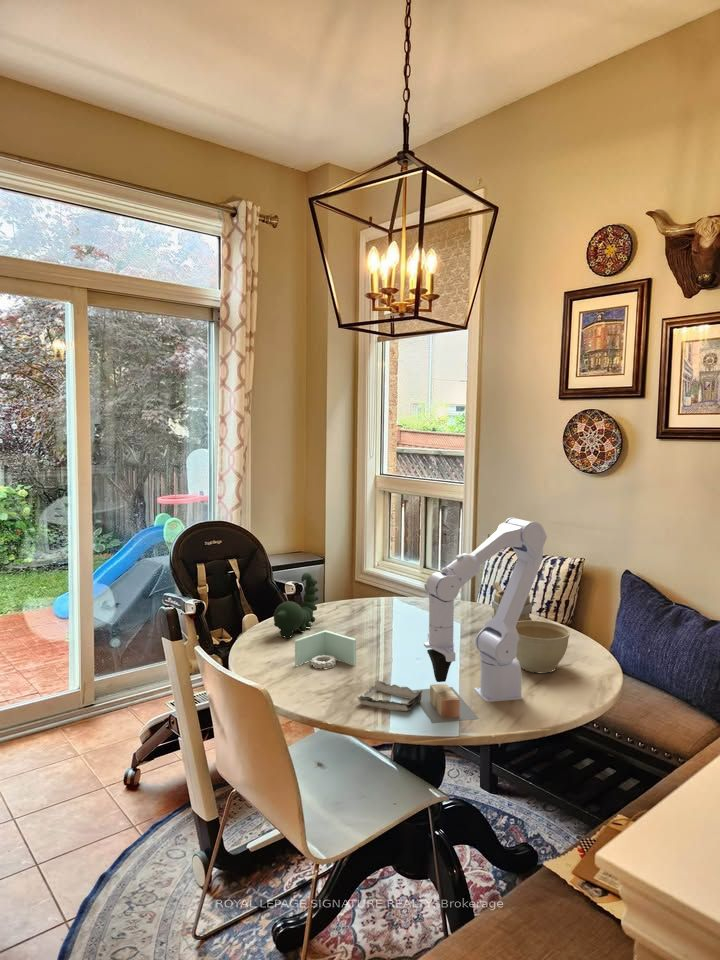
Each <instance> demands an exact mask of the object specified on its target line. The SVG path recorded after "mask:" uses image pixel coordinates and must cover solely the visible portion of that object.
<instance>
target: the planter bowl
mask: <svg viewBox="0 0 720 960" xmlns="http://www.w3.org/2000/svg"><path fill="white" fill-rule="evenodd" d="M516 630H517V632H518V635H519V641H518V644H517V654H516V657H515V659H517V660H518V662H519V664H520V667H521V669H522V670H524V669H525V671H527V670H528V671H527V672H530V671H532V672H531V673H534V672H550V671H552V670H554V669H555V670H556V667H557V665H558V664H560V662H561V661H562V660H563V658H564V656H565V654H566V651H567V649H568V644H569V639H570V635H571V634H570V631H569V630H568V629H567V628H566V627H565V626H562V625H560V624H557V623H553V622H548V621H542V620H532V621H518V622H517V624H516ZM555 670H554V671H555ZM550 673H551V672H550Z"/></svg>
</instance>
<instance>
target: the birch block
mask: <svg viewBox="0 0 720 960" xmlns="http://www.w3.org/2000/svg"><path fill="white" fill-rule="evenodd" d="M450 687H451V686H449V685H448V684H447V683H439V684H430V685H429V689H430V702H431V703H432V704H433V706H434V707H435V709H436V710H437V711H438V713H439V714H440V715H441V717H442V718H450V717H459V713H460V699H459V698H458V697H457V696H456V695H455V693H454V692H453V691H452V690H451V689H450Z"/></svg>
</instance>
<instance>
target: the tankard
mask: <svg viewBox="0 0 720 960" xmlns="http://www.w3.org/2000/svg"><path fill="white" fill-rule="evenodd" d="M492 589H493V590H495V593H494V595H493V597H494V598H493V599H492V601H491V608H492V609H493V614H492V616H491V619H492V618H494V617H495V614H496V612H497V609H498V607H499V604H500V602H501V599H502V597H503V595H504V592H505V590H506V589H504V590H503V588H502V587H501V586H500V583H499V582H497V581H495V582H494V583H493V584H492ZM530 600H531V595H530V594H529V595H528V597H527V600H526V602H525V604H524V607H523V609H522V612H521V614H520V617H519V619H518V621H533V620H532V619H533V618H531V617H530V614H531V613H530V612H531V611H533V603H532V602H531V601H530ZM499 634H501V633H499Z"/></svg>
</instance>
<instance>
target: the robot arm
mask: <svg viewBox="0 0 720 960" xmlns="http://www.w3.org/2000/svg"><path fill="white" fill-rule="evenodd" d="M547 538H548V536H547V534H546V531H545V529H544V526H543V525H542V523H539V522H538V521H530V520H524V519H520V518H518V517H514V516H512V517H509V518H507V519H506V520H505V521H504V522H502V523H500V524H499V525H498V527H497V530H495V532H493V533H492V534H491V535H490V536H489V537H487V538H486V539H485V540H484V541H483V542H482V543H481V544H480V545H479V546H478V547H477V548H475V549H474V550H473V551H472V552H471V553H466V552H464V553H462V554H460V553H459V554H457V555H456V556H455V558H456V559H454V560H453V561H451V563H449V564H448V565H446V566H445V567H444V566H443V567H442V568H441V570H440V572H439V571H438V572H434V573H432V574H430V575H429V576H428V578H427V580H426V583H424V589H425V592H426V593H427V595H428V608H429V609H428V633H427V641H426V642H424V643H423V646H424V647H425V648H427V650H426V652H427V654H428V656H429V658H430V661H431V665H432V670H433V675H434V679H435V681H436V682H437V683H446V682H447V677H448V673H449V669H450V667H451V664H452V663H453V662H456V652H455V643H454V618H455V617H454V611H455V610H454V609H455V608H454V605H455V603H454V602H455V601H454V600H455V599H456V598H457V597H458V595H459V593H460V590H461V588H462V587H463V586H464V585H465V584H467V583H468V582H469V581H470V580H471V579H473V578H474V577H475V576H476V575H478V574H479V573H480V571H481V565H482V564H484V563H485V562H487V561H489V559H491V558H493V557H494V556H496V555H497V554H498V553H499V552H501V551H503V550H504V549H505V548H512V549H513V551H514V553H515V556H516V558H517V560H516V562H515V565H514V568H513V570H512V572H511V575H510V577H509V580H508V582H507V584H506V587H505V589H504V590H505V592H504V595H503V597H502V599H501V602H500V604H499V607H498V609H497V612H496V614H495V617H494V618H492V617H491V619H489V620H487V621H485V623H484V626H483V627H482V629H481V630H480V631H479V632H478V633H477V634H476V637H475V647H476V649H477V650H478V651H479V656H480V673H479V674H480V681H479V683H480V685H479V686H480V687H474V688H473V690H475V692H476V693H477V694H478V695H479V696H480V697H481V699H483V700H484V702H486V703H490V702H491V703H493V702H502V701H503V702H505V701H514V700H515V701H516V700H523V696H522V668H521V667H520V664H519V661H518V659H517V658H516V654H517V644H518V641H519V635H518V632H517V630H516V624H517V622H518V619H519V617H520V614H521V612H522V609H523V607H524V604H525V602H526V600H527V597H528V595H530V591H531V590H532V587H533V584H534V582H535V579H536V577H537V575H538V573H539V572H538V571H539V569H540V567H541V565H542V563H543V562H542V561H543V557H544V556H543V554H544V553H543V552H544V546H545V543H546V541H547ZM499 633H501V634H499Z"/></svg>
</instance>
